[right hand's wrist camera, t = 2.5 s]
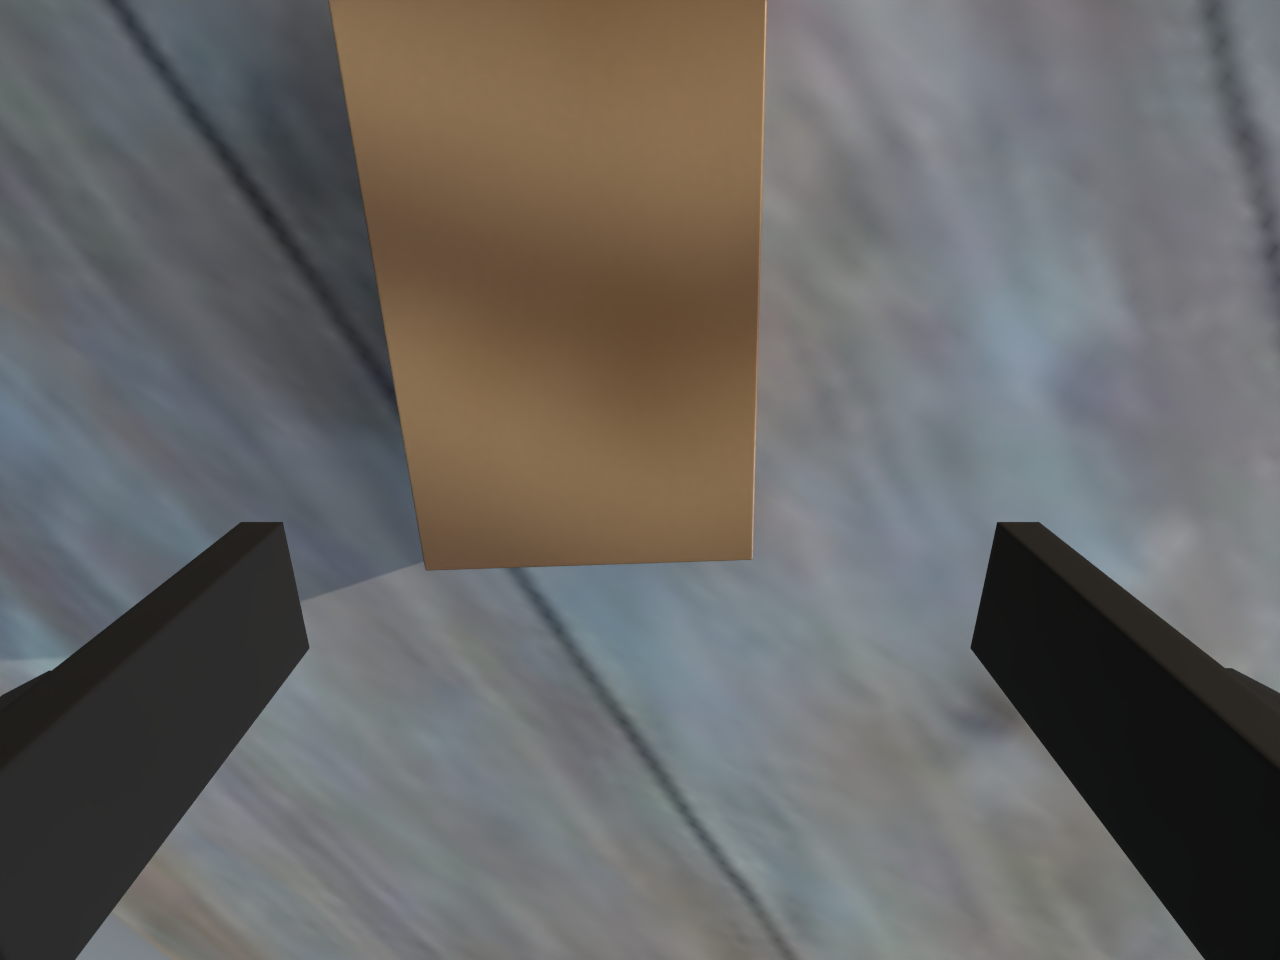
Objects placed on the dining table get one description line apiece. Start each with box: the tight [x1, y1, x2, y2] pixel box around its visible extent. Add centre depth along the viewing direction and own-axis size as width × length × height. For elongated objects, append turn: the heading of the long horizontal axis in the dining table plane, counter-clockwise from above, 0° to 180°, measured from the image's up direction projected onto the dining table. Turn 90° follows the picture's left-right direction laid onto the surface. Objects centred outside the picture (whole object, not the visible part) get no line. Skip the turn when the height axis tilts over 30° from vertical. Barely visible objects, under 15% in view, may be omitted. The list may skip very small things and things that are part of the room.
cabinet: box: [328, 0, 767, 570], centre depth 22 cm, size 18×10×9 cm, turn 2°
